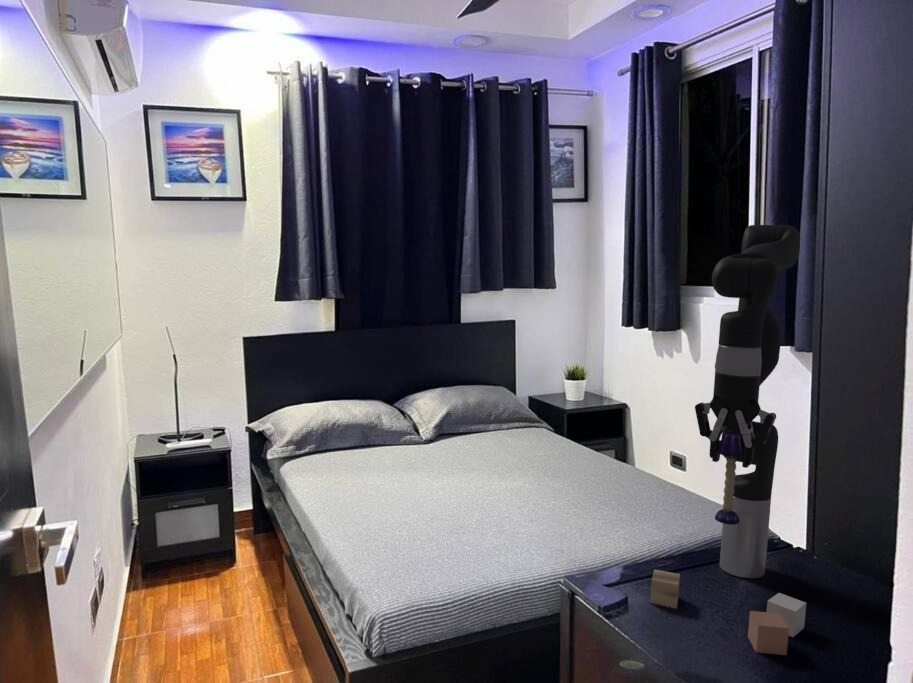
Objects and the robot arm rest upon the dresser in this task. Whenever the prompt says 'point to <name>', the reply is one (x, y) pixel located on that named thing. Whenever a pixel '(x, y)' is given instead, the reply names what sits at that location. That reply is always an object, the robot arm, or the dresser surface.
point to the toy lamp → (730, 474)
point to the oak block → (665, 588)
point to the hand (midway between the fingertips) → (730, 463)
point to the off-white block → (788, 611)
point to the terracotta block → (768, 633)
